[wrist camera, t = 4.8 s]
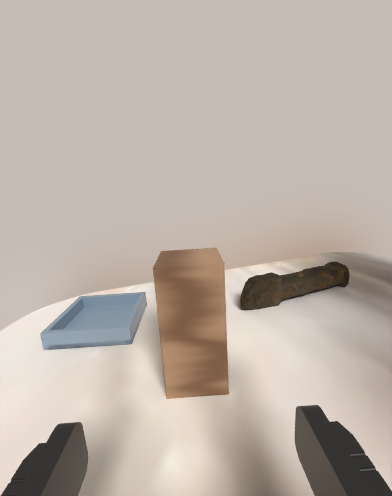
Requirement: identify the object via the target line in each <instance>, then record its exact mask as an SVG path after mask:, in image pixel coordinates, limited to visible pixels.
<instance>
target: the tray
mask: <svg viewBox="0 0 392 496" xmlns="http://www.w3.org/2000/svg"><path fill="white" fill-rule="evenodd" d="M146 305H147V302H146V294H145V292H139V293H124V294H109V295H94V296H80V297H79V298H78V299H77V300H76V301H75V302H74V303H73V304H71V305H70V306H69V307H68V308H67V309H66V310H65V311H64V312H63V313H62V314H61V315H60V316H59V317H58V318H57V319H55V320H54V321H53V322H52V323H51V324H50V325H49V326H48V327H47V328H46V329H45V330H44V331H43V332H42V333H41V334H40V335H41V340H42V344H43V348H44V350H50V349H65V348H79V347H93V346H108V345H122V344H132V341H133V339H134V336H135V333H136V331H137V328H138V326H139V323H140V320H141V318H142V315H143V313H144V310H145V308H146Z"/></svg>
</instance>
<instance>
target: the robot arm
mask: <svg viewBox="0 0 392 496" xmlns="http://www.w3.org/2000/svg"><path fill="white" fill-rule="evenodd" d="M295 445H296V450H297V453H298V457H299V460H300V462H301V464H302V467H303V469H304V471H305V474H306V476H307V479H308V481H309V483H310V486H311V488H312V490H313V493H314V495H315V496H392V491H391V489H390V488H389V487H388V485H387V484H386V482H385V481H384V479H383V478H382V476H381V475H380V474H379V472H378V471H376V469H375V466H374V465H373V463H372V462H371V460H370V459H369V458H368V456H366V455H365V452H364V450H363V449H362V447H361V446H360V445H359V443H358V442H357V440H356V439H355V437H354V436H353V435H352V434H351V433H350V432H349V431H348V430H347V429H346V428H344V427H343V426H342V425H341V424H340V423H339V422H338V421H335V422H329V420H328V419H327V417H326V416H325V414H324V412H323V411H322V409H321V408H320V407H319V406H318V405H310V406H298V407H297V408H296V419H295ZM87 464H88V452H87V447H86V441H85V436H84V431H83V426H82V423H81V422H76V423H63V424H58V425H57V426H56V427H55V429H54V430H53V432H52V434H51V435H50V437H49V439H48V441H47V442H46V443H39V444H38V445H37V446H36V447H35V448H34V449H33V451H32V452H31V453H30V454H29V455H28V456H27V457H26V458H25V459H24V460H23V461H22V463H21V465H20V466H19V468H18V469H17V471H16V473H15V474H14V476H13V477H12V479H11V482H10V483H9V484H8V485H7V487H6V489H5V490H4V492H3V493H2V495H1V496H78V493H79V490H80V488H81V485H82V482H83V480H84V477H85V474H86V470H87Z"/></svg>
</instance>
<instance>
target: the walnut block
mask: <svg viewBox="0 0 392 496" xmlns="http://www.w3.org/2000/svg"><path fill="white" fill-rule="evenodd" d="M153 273H154V283H155V292H156V302H157V311H158V321H159V330H160V339H161V349H162V358H163V368H164V377H165V387H166V396H167V399H170V398H184V397H197V396H211V395H225V394H229V387H228V359H227V331H226V303H225V275H224V262H223V260H222V258H221V256H220V254H219V252H218V250H217V248H204V249H191V250H190V249H189V250H174V251H162V252H161V253H160V255H159V257H158V259H157V261H156V263H155V265H154V267H153Z"/></svg>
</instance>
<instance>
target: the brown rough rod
mask: <svg viewBox="0 0 392 496" xmlns="http://www.w3.org/2000/svg"><path fill="white" fill-rule="evenodd" d="M348 281H349V270H348V268H347V267H346V266H345V265H343V264H341V263H338V262H329V263H327V264H326V265H325V266H318V267H313V268H310V269H304V270H303V271H300V272H296V273H291V274H286V275H281V276H279V275H277V274H274V273H267V274H264V275H257V276H254V277H251V278H249V279H248V281H247V282H246V283H245V285H244V288H243V291H242V294H241V309H243V310H245V309H246V310H253V309H261V308H266V307H272V306H278V305H279V304H280V302H281V301H283V300H285V299H288V298H291V297H295V296H298V295H304V294H305V293H309V292H313V291H317V290H321V289H325V288H330V287H333V286H335V285H338V286H342V287H345V286H346V285H347V284H348V283H349V282H348Z"/></svg>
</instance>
